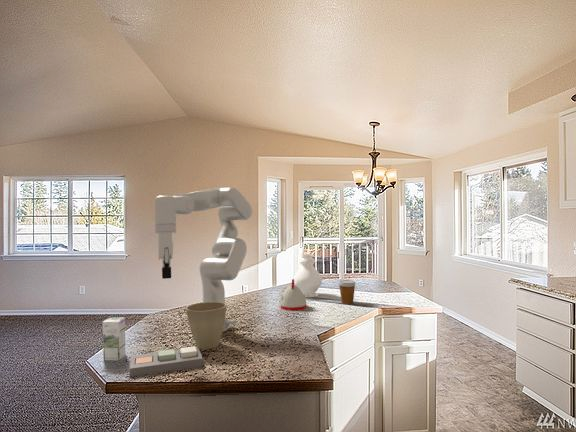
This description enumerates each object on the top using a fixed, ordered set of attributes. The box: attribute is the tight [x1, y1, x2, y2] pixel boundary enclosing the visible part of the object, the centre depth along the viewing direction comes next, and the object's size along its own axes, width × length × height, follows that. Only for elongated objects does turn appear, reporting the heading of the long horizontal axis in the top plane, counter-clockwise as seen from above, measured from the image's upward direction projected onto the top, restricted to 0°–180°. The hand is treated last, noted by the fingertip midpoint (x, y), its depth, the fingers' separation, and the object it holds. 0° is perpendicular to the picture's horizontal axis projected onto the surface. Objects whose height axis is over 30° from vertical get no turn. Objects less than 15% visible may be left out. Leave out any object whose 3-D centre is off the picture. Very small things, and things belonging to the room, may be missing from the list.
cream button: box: [179, 346, 197, 358], centre depth 129 cm, size 5×5×2 cm
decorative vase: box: [293, 253, 323, 298], centre depth 238 cm, size 18×18×25 cm
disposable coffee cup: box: [338, 279, 356, 305], centre depth 215 cm, size 10×10×12 cm
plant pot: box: [185, 301, 227, 350], centre depth 145 cm, size 15×15×16 cm
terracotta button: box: [135, 356, 152, 364], centre depth 125 cm, size 5×5×2 cm
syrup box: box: [102, 317, 127, 361], centre depth 135 cm, size 6×6×14 cm
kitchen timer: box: [280, 278, 307, 311], centre depth 208 cm, size 14×14×15 cm
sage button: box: [158, 348, 175, 361], centre depth 127 cm, size 5×5×2 cm
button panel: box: [129, 346, 204, 378], centre depth 127 cm, size 22×12×4 cm, turn 109°
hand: (166, 278), depth 144 cm, fingers closed
